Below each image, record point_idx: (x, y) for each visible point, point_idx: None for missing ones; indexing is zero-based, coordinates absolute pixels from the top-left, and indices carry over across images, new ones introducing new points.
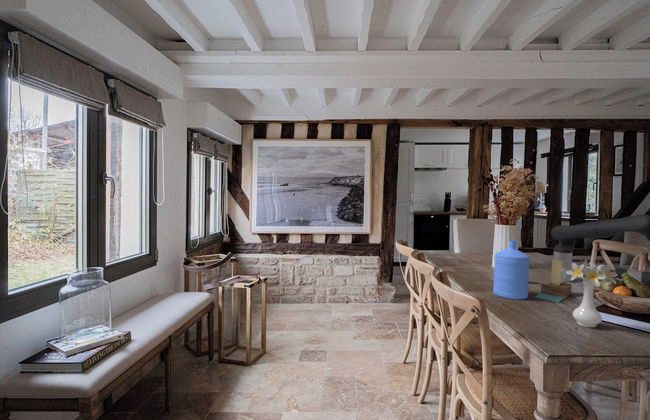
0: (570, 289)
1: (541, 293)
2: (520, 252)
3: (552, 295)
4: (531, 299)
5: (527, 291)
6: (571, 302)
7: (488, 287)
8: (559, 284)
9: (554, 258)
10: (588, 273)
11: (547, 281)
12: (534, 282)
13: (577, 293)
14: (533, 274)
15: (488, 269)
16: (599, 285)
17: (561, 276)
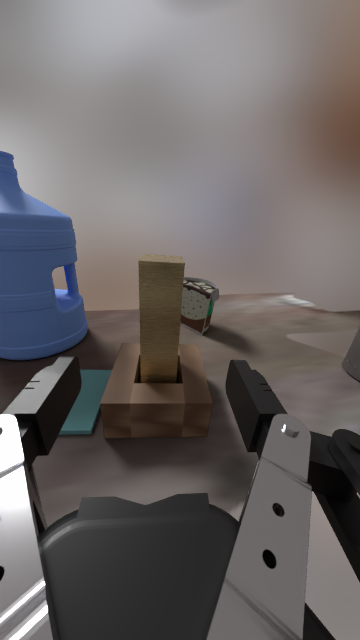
0: (193, 419)
1: (104, 371)
2: None
3: (96, 396)
4: (14, 370)
5: (14, 342)
6: None
7: (99, 311)
8: (141, 373)
9: (179, 256)
10: None
11: (179, 347)
12: (246, 343)
13: (248, 455)
14: (328, 331)
15: (255, 296)
16: None
17: (162, 346)
